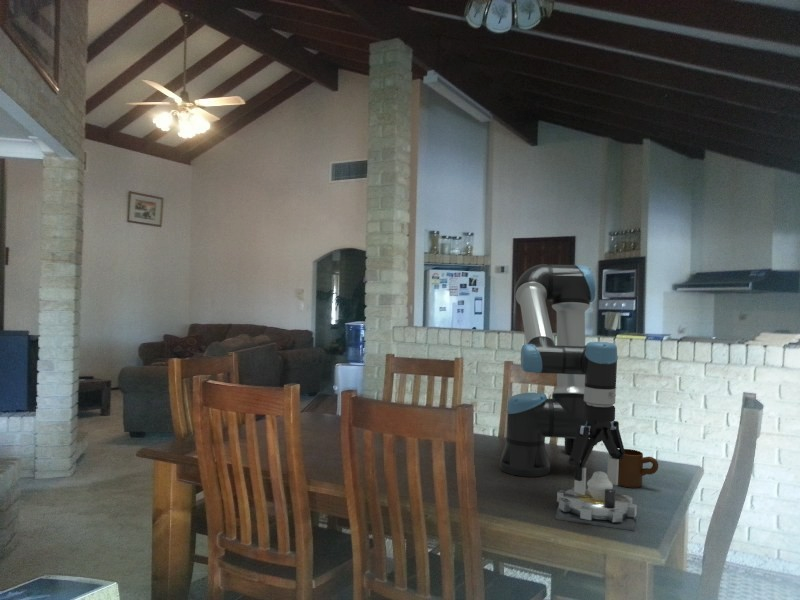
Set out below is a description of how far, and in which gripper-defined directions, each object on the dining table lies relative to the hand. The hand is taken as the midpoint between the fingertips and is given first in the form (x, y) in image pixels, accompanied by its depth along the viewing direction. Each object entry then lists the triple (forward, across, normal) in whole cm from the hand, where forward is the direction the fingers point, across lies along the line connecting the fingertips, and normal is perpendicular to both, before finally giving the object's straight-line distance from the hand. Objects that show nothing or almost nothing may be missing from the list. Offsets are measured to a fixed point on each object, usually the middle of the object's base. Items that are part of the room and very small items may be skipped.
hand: (596, 488), depth 154 cm
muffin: (+3, 0, -1) cm, 3 cm away
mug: (+6, +28, +6) cm, 29 cm away
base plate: (+6, 0, 0) cm, 6 cm away
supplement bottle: (+6, +42, +38) cm, 57 cm away
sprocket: (+5, 0, 0) cm, 5 cm away
